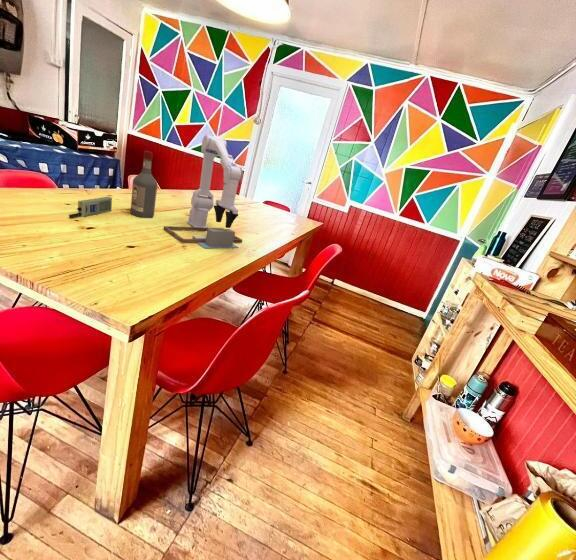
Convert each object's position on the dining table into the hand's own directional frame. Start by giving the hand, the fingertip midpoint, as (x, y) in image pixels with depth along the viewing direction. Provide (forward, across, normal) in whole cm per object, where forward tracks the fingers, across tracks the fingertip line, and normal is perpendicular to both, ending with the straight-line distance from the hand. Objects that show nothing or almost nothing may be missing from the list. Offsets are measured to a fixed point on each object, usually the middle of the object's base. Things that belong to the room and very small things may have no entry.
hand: (223, 224), depth 144 cm
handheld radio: (+10, -37, -42) cm, 57 cm away
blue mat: (+9, +2, -2) cm, 10 cm away
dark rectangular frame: (+9, -10, -2) cm, 14 cm away
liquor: (+10, -40, -19) cm, 45 cm away
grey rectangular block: (+9, +2, -2) cm, 9 cm away
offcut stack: (+10, -6, -2) cm, 12 cm away
